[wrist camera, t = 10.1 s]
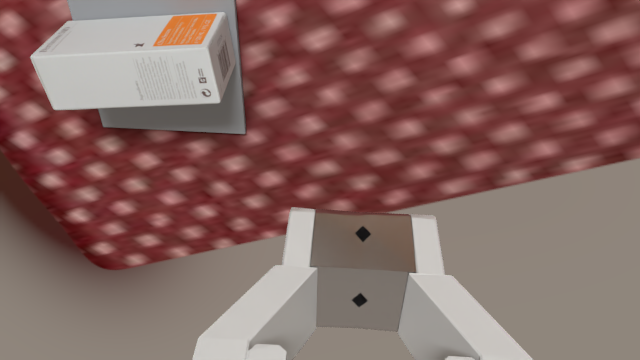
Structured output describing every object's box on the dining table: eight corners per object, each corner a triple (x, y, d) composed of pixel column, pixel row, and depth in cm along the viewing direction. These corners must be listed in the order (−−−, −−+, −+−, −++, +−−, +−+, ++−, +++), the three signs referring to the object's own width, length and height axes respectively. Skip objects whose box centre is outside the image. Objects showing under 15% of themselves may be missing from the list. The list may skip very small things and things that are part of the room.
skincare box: (208, 45, 34) (26, 57, 35) (222, 104, 37) (52, 113, 38) (226, 8, 39) (65, 19, 40) (237, 62, 41) (86, 71, 42)
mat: (232, -41, 37) (230, -39, 36) (246, 130, 46) (245, 134, 45) (57, -48, 37) (54, -46, 37) (105, 123, 46) (103, 126, 46)
